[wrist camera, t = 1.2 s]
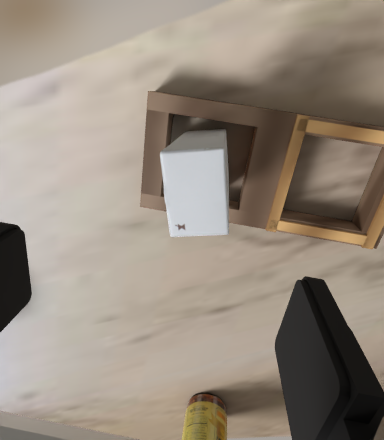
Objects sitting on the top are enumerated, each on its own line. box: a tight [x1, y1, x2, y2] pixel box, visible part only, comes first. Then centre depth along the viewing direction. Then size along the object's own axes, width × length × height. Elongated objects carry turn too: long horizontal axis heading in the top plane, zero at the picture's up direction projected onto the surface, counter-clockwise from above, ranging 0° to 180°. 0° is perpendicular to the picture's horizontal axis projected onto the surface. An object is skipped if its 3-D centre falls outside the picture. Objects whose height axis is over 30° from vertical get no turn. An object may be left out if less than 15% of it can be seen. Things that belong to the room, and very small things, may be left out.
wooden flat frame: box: [140, 91, 384, 249], centre depth 28 cm, size 24×11×3 cm, turn 82°
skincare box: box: [160, 129, 229, 237], centre depth 24 cm, size 6×4×12 cm
